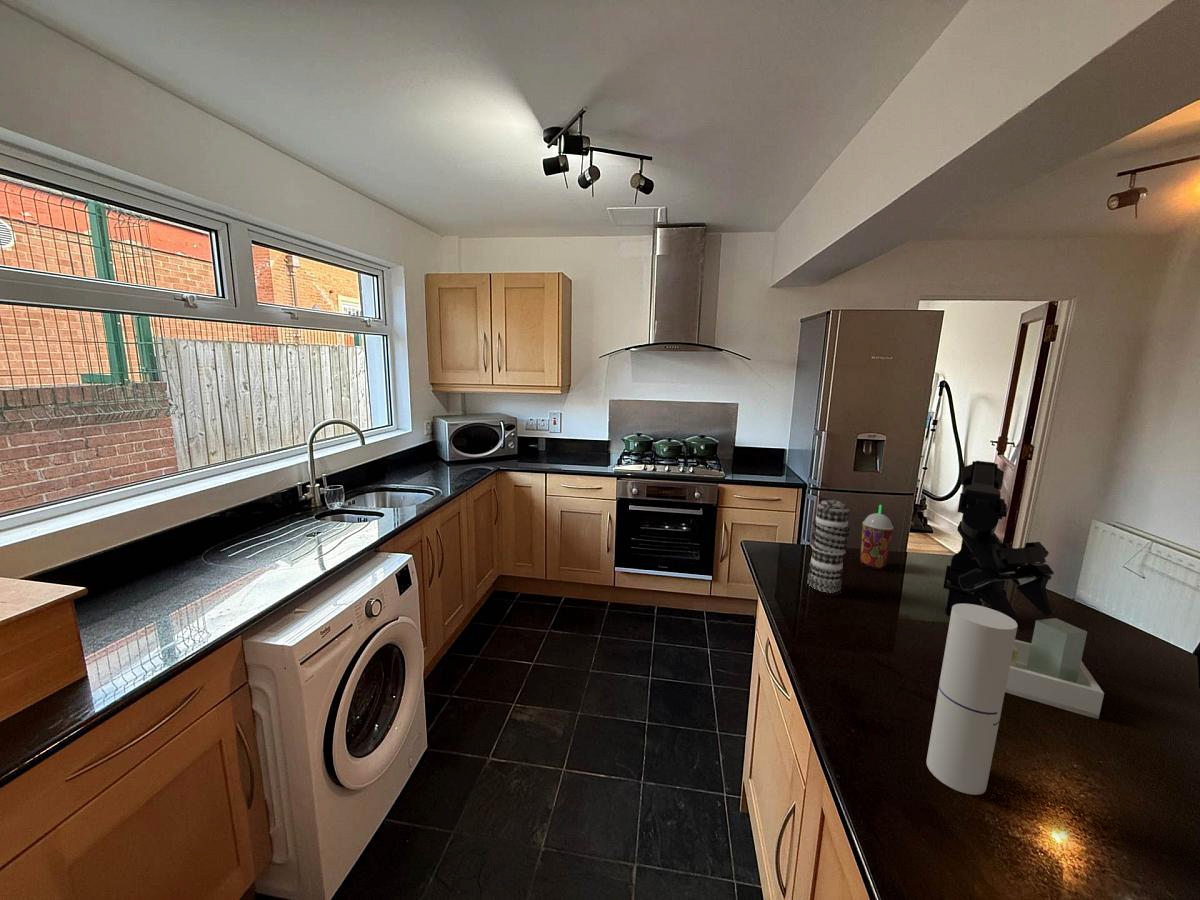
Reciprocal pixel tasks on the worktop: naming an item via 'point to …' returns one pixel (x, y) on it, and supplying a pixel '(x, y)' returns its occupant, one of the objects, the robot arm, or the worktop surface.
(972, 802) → the worktop surface
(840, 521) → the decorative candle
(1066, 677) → the sage tin
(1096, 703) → the white tote
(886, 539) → the smoothie
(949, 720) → the cylindrical container
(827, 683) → the worktop surface
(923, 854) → the worktop surface
